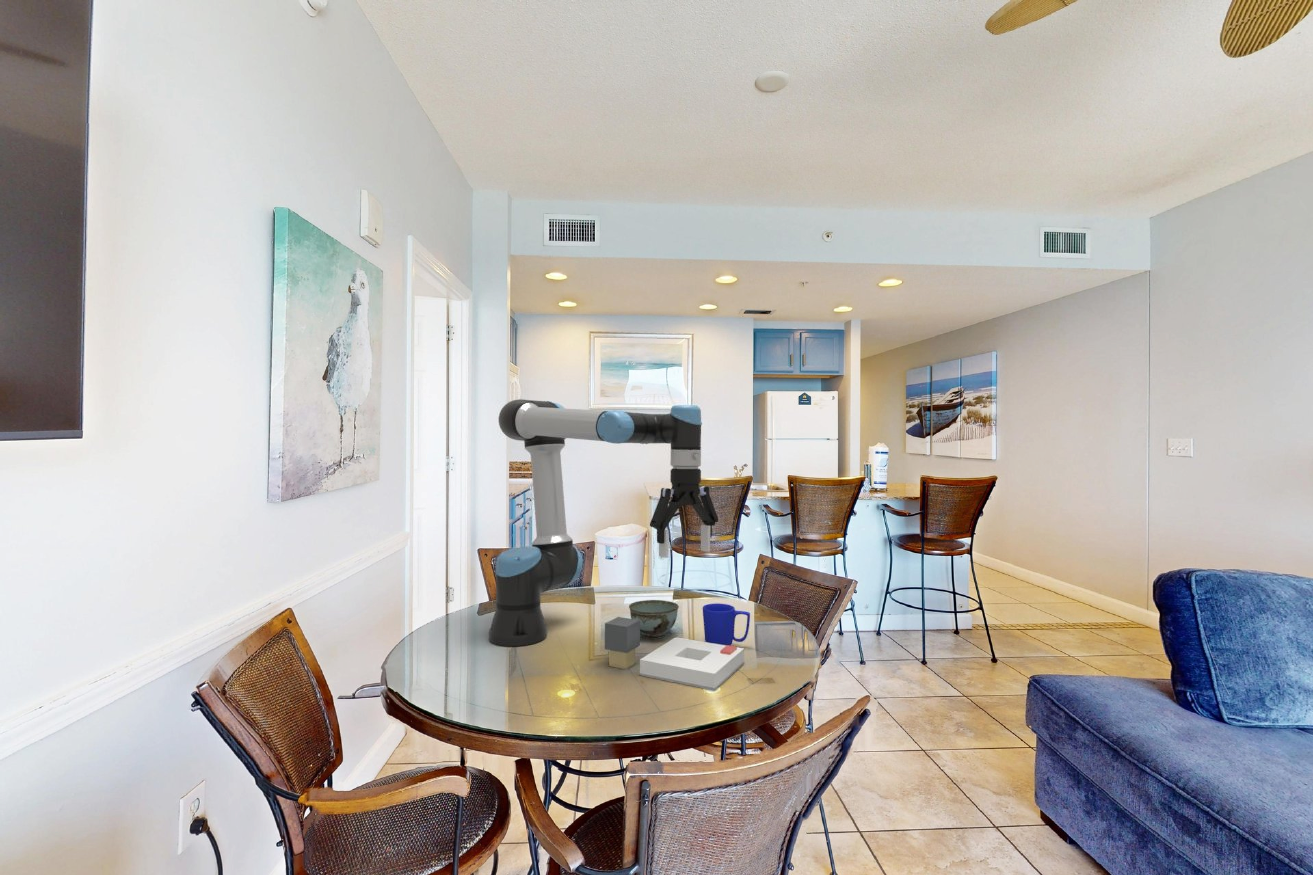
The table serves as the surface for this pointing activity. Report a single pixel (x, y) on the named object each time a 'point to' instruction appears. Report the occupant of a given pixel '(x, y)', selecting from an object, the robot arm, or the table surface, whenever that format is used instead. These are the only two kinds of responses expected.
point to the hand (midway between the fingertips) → (685, 554)
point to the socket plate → (692, 663)
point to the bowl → (654, 616)
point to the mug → (721, 623)
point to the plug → (622, 641)
